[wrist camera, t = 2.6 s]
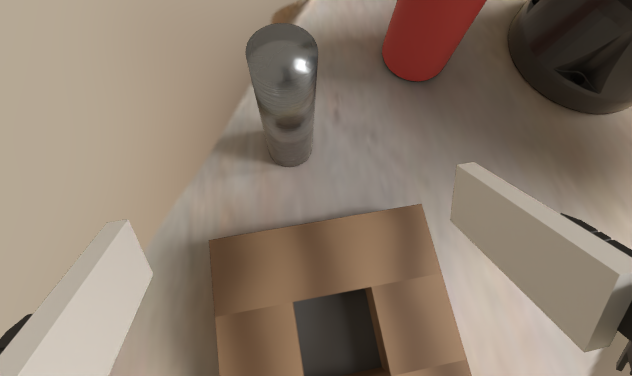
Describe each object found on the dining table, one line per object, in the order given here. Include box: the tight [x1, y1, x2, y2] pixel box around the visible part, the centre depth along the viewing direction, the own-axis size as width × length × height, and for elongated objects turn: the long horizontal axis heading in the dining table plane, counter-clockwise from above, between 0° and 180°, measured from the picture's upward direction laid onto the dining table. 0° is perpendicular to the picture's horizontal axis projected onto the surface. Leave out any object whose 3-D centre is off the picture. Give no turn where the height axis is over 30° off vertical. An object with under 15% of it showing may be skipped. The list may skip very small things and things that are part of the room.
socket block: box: [209, 204, 472, 376], centre depth 22 cm, size 16×16×4 cm
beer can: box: [382, 0, 486, 81], centre depth 27 cm, size 7×7×12 cm
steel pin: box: [246, 23, 318, 167], centre depth 23 cm, size 4×4×12 cm
